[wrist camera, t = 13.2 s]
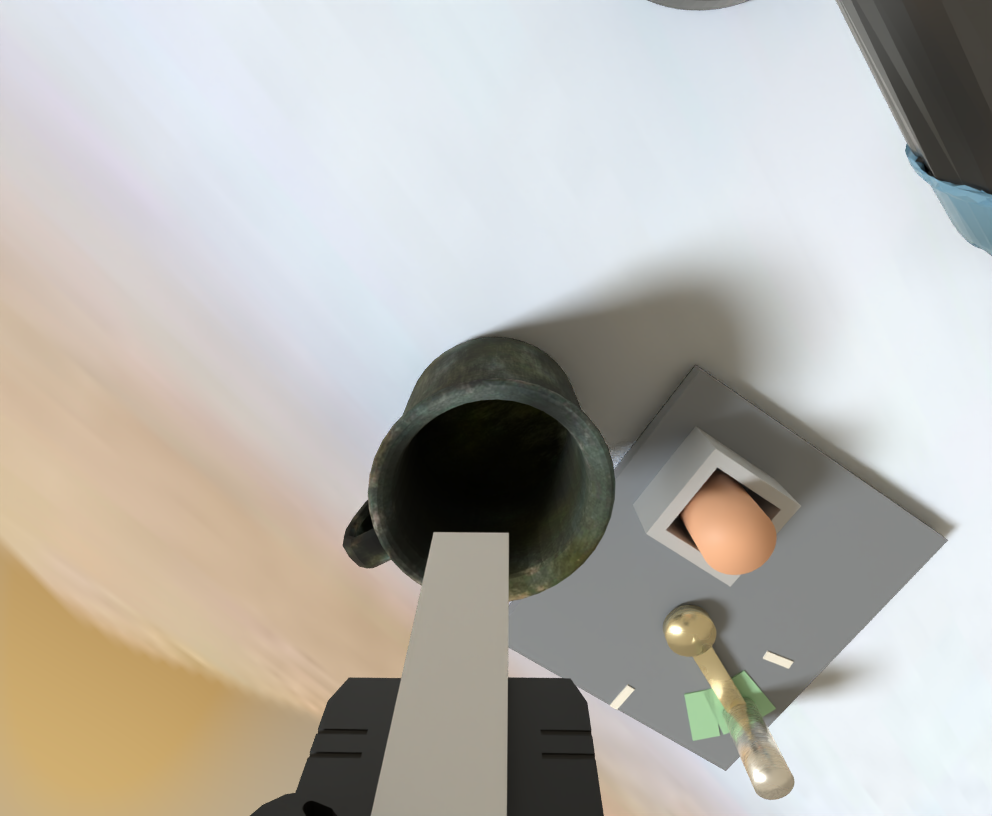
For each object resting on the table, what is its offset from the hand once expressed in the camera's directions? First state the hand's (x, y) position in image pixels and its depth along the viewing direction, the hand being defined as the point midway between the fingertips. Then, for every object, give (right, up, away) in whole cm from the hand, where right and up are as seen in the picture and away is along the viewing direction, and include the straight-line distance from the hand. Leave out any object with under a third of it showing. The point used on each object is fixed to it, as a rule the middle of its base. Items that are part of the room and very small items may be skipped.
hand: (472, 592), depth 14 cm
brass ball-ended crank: (+15, -14, +32) cm, 38 cm away
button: (+13, -2, +27) cm, 30 cm away
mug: (-1, +2, +28) cm, 29 cm away
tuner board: (+15, -8, +31) cm, 36 cm away
